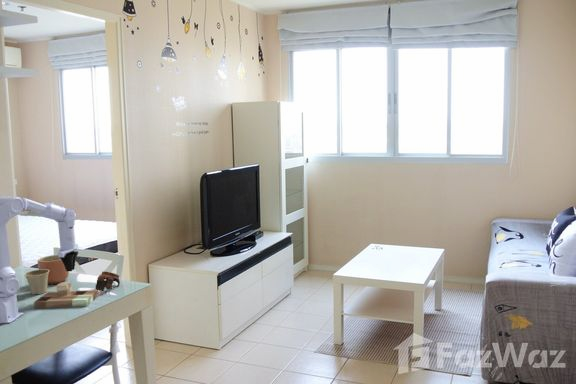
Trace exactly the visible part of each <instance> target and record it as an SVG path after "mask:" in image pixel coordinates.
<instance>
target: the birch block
mask: <svg viewBox="0 0 576 384" xmlns="http://www.w3.org/2000/svg"><path fill="white" fill-rule="evenodd" d="M55 285H56V284H55ZM72 291H73V289H72V282H71V281H66V282H65V281H63V282H61V283H57V285H56V292H57V295H68V294H70V293H71V292H72Z"/></svg>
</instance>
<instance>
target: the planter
mask: <svg viewBox="0 0 576 384" xmlns="http://www.w3.org/2000/svg"><path fill="white" fill-rule="evenodd" d="M41 269H46V270H49V273H48V283H47V285H56V284H57V285H58V284H59V283H61V282H65V281H66V280H67V279H68V277H69V275H70V273H69V272H70V271H66V269H65V266H64V264H63V262H62V260H61V259H60V258H59V257H58V254H51V255H46V256H43V257H40V258H37V270H41Z"/></svg>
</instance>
